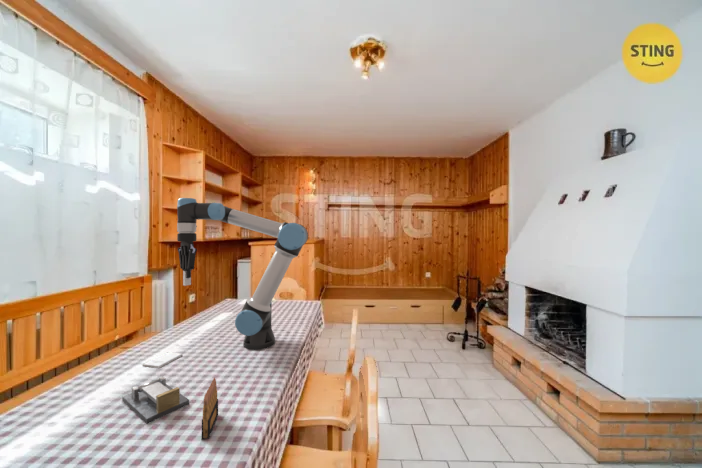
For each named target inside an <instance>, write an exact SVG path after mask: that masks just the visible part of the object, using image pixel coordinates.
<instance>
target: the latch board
mask: <svg viewBox="0 0 702 468" xmlns="http://www.w3.org/2000/svg"><path fill="white" fill-rule="evenodd" d="M158 379H159V380H160V383H161V384H162V385H164V386H165V387H167V388H168V389H169V391H166V392H164V393H161V394H159V395H157V396H156V403H155V402H153V401H152V400H151V399H150V398H149V397H147V396H146V395H145V394H144V393H143V392H140V393H139V388H138V387H139V386H137V385H135V386H133V387H131V393H128V394H126V395H122V397H121V398H122V403H124V404H125V406H127V407H128V409H131V411H133V413H135V414H136V416H138V417H139V418H140V419H141V420H142V421H143V422H144V423H145V424H146V425H148V424H149V423H152V422H154V421H157V420H159V419H160V418H163V417H165V416H168V415H170V414H171V413H174V412H176V411H179V410H180V409H182V408H184V407H187V406H188V405H190V399H189V398H188V397H186V396H184V395H183V394H181V393H180V387H178V386H176V387H174V388H173V387H171V386H170V385H168V384H167V380H166V379H167V378H165V377H164V376H160V377H158Z"/></svg>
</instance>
